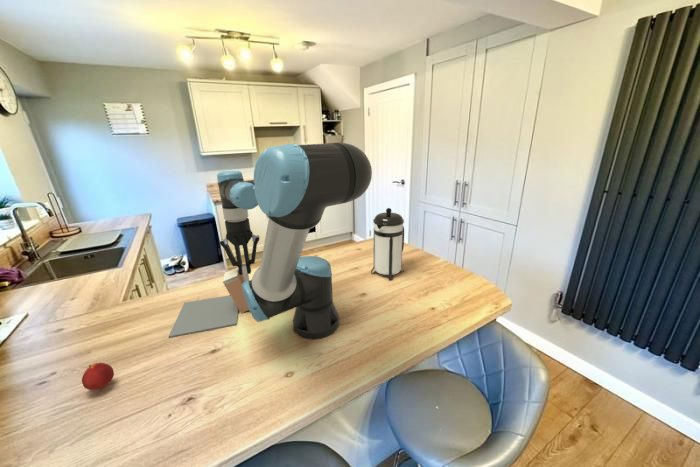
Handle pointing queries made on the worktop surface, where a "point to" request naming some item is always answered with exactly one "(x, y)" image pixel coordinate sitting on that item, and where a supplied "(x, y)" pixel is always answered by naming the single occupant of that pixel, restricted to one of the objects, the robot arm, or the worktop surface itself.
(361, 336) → the worktop surface
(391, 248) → the coffee press
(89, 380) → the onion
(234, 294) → the tall block
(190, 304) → the mat
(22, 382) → the worktop surface
